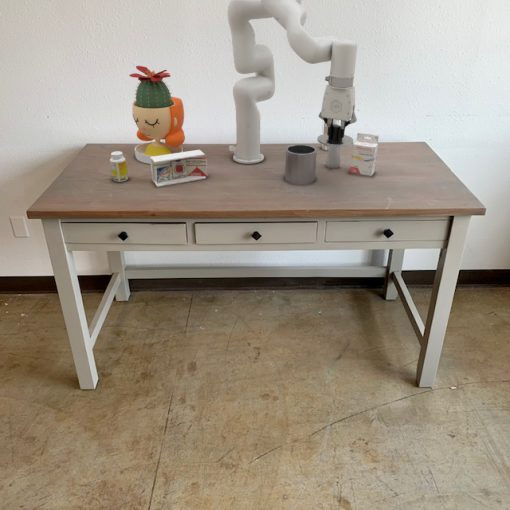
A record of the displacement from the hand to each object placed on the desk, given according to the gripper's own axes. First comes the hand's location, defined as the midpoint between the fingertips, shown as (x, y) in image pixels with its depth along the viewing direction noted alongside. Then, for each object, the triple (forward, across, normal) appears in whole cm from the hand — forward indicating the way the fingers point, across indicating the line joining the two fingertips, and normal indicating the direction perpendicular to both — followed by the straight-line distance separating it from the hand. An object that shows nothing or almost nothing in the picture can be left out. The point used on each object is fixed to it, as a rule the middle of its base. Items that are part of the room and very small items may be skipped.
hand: (335, 138), depth 162 cm
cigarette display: (+19, -52, -17) cm, 58 cm away
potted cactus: (+19, -74, +2) cm, 76 cm away
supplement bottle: (+19, -72, -27) cm, 79 cm away
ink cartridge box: (+18, +6, +19) cm, 27 cm away
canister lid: (+1, 0, 0) cm, 1 cm away
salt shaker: (+19, -6, +20) cm, 28 cm away
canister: (+18, -13, +3) cm, 23 cm away
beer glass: (+19, -15, +41) cm, 47 cm away
